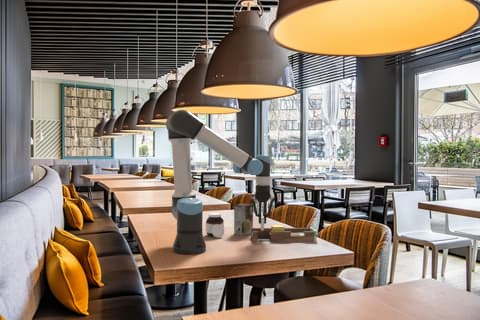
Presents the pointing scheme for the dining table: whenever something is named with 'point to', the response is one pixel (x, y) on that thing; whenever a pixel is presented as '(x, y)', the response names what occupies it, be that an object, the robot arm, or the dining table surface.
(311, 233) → the box
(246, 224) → the coffee box
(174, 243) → the robot arm
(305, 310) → the dining table surface
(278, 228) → the block
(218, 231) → the spread jar
